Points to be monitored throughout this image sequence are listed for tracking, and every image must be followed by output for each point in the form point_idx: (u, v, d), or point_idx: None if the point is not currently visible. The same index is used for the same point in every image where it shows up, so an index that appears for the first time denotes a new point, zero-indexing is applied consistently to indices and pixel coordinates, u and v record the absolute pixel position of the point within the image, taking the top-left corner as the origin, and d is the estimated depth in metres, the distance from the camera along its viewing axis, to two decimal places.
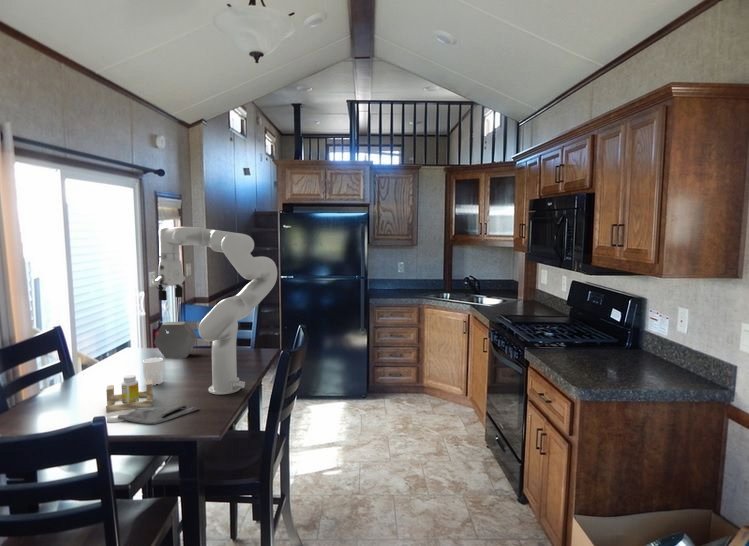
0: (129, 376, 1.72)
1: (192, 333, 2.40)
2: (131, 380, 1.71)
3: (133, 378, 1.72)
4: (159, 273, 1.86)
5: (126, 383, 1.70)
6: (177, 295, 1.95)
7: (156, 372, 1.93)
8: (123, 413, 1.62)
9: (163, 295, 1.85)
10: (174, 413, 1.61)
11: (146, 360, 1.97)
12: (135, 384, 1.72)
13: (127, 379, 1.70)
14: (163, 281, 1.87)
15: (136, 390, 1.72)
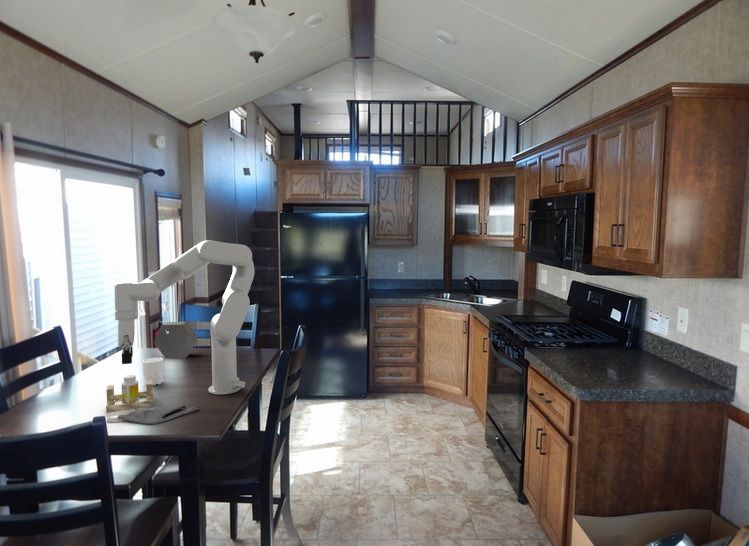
0: (129, 376, 1.72)
1: (192, 333, 2.40)
2: (131, 380, 1.71)
3: (133, 378, 1.72)
4: None
5: (126, 383, 1.70)
6: None
7: (156, 372, 1.93)
8: (123, 413, 1.62)
9: None
10: (174, 413, 1.61)
11: (146, 360, 1.97)
12: (135, 384, 1.72)
13: (127, 379, 1.70)
14: None
15: (136, 390, 1.72)
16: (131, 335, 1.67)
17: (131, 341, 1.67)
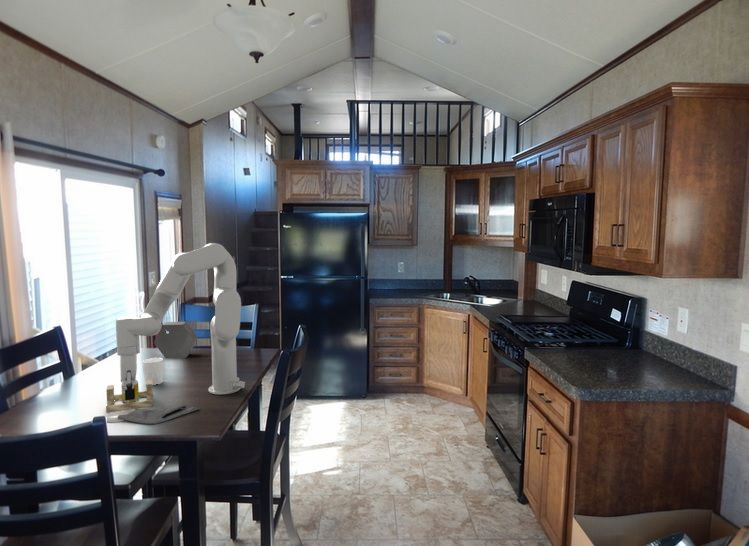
0: None
1: (192, 333, 2.40)
2: (131, 380, 1.71)
3: None
4: None
5: None
6: None
7: (156, 372, 1.93)
8: (123, 413, 1.62)
9: None
10: (174, 413, 1.61)
11: (146, 360, 1.97)
12: (135, 384, 1.72)
13: None
14: None
15: (135, 390, 1.72)
16: (133, 370, 1.68)
17: (134, 378, 1.69)
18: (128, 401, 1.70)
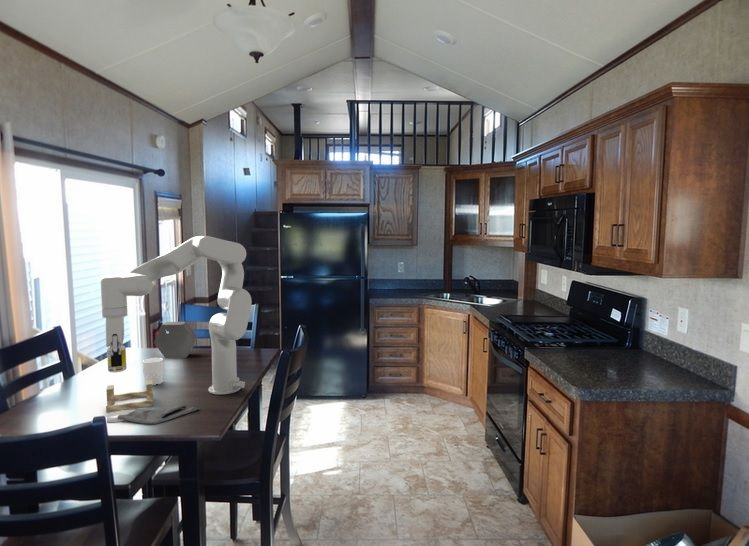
0: None
1: (192, 333, 2.40)
2: None
3: None
4: None
5: None
6: None
7: (156, 372, 1.93)
8: (123, 413, 1.62)
9: None
10: (174, 413, 1.61)
11: (146, 360, 1.97)
12: (122, 350, 1.57)
13: None
14: None
15: (122, 356, 1.58)
16: (120, 334, 1.54)
17: (120, 343, 1.55)
18: (114, 368, 1.56)
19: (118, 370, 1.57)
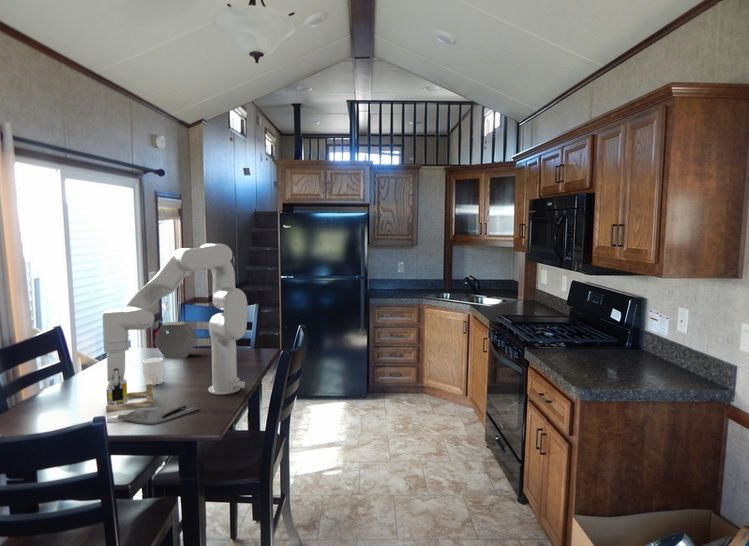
0: None
1: (192, 333, 2.40)
2: None
3: None
4: None
5: None
6: None
7: (156, 372, 1.93)
8: (123, 413, 1.62)
9: None
10: (174, 413, 1.61)
11: (146, 360, 1.97)
12: (123, 383, 1.58)
13: None
14: None
15: (123, 389, 1.58)
16: (121, 368, 1.55)
17: (121, 377, 1.56)
18: (115, 402, 1.57)
19: (119, 404, 1.57)
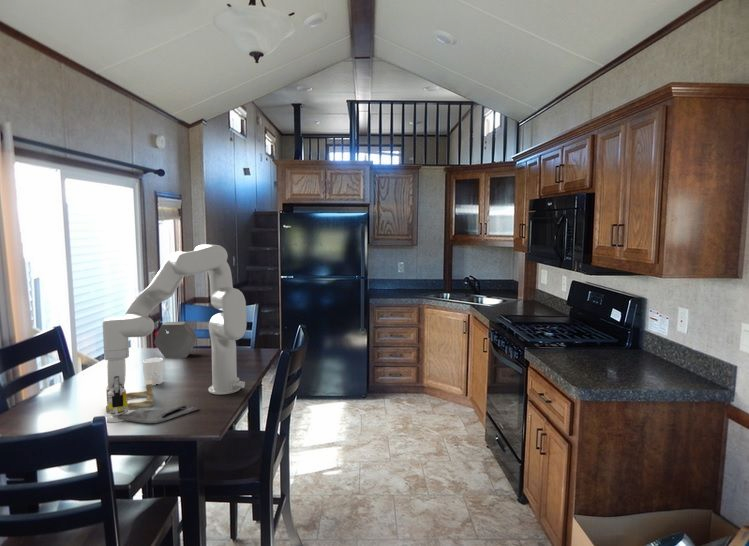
0: None
1: (192, 333, 2.40)
2: None
3: None
4: None
5: None
6: None
7: (156, 372, 1.93)
8: None
9: None
10: (174, 413, 1.61)
11: (146, 360, 1.97)
12: (122, 392, 1.59)
13: None
14: None
15: (123, 398, 1.59)
16: (122, 376, 1.55)
17: (122, 382, 1.55)
18: (116, 411, 1.58)
19: (120, 413, 1.58)
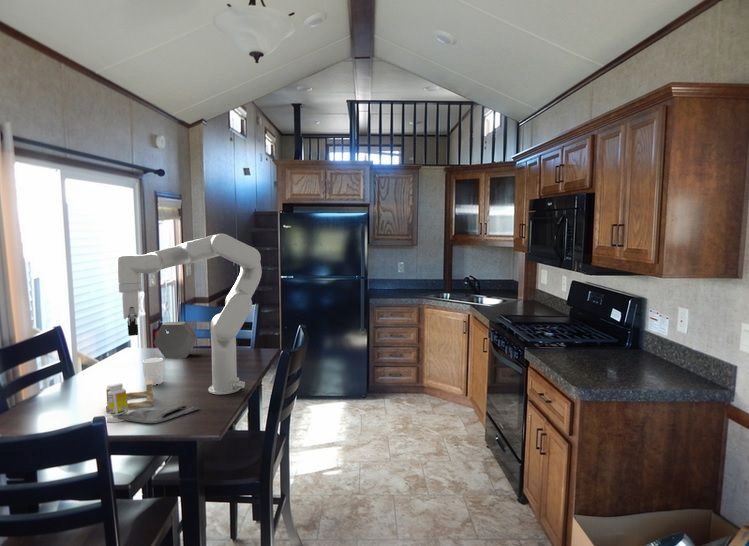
0: (115, 384, 1.60)
1: (192, 333, 2.40)
2: (117, 388, 1.59)
3: (119, 386, 1.60)
4: None
5: (112, 391, 1.58)
6: None
7: (156, 372, 1.93)
8: None
9: None
10: (174, 413, 1.61)
11: (146, 360, 1.97)
12: (122, 392, 1.59)
13: (113, 387, 1.58)
14: None
15: (123, 398, 1.59)
16: (136, 307, 1.69)
17: (136, 313, 1.69)
18: (116, 411, 1.58)
19: (120, 413, 1.58)
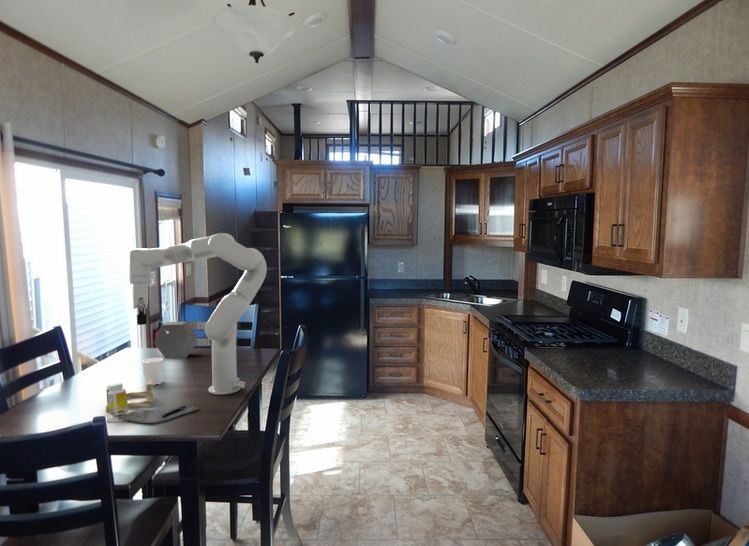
0: (115, 384, 1.60)
1: (192, 333, 2.40)
2: (117, 388, 1.59)
3: (119, 386, 1.60)
4: None
5: (112, 391, 1.58)
6: None
7: (156, 372, 1.93)
8: None
9: None
10: (174, 413, 1.61)
11: (146, 360, 1.97)
12: (122, 392, 1.59)
13: (113, 387, 1.58)
14: None
15: (123, 398, 1.59)
16: (145, 298, 1.79)
17: (145, 303, 1.79)
18: (116, 411, 1.58)
19: (120, 413, 1.58)
